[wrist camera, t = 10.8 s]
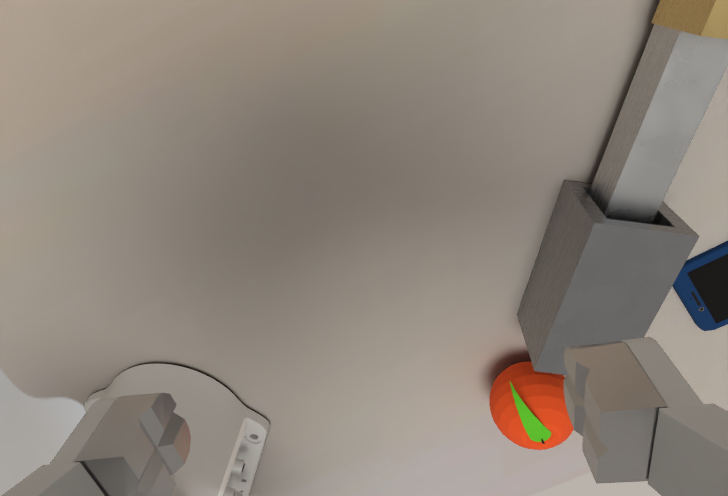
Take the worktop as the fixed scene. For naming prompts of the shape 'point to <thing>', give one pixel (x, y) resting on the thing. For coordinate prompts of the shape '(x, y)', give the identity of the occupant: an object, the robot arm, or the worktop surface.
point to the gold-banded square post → (662, 108)
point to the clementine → (530, 407)
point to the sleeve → (598, 277)
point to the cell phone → (705, 287)
